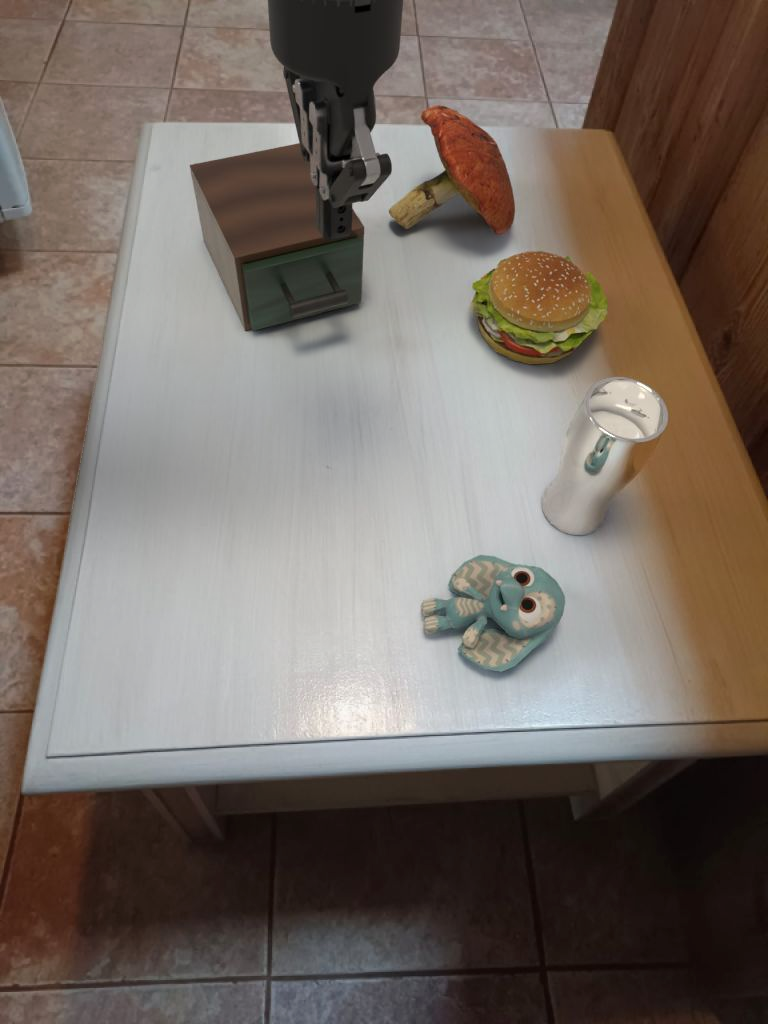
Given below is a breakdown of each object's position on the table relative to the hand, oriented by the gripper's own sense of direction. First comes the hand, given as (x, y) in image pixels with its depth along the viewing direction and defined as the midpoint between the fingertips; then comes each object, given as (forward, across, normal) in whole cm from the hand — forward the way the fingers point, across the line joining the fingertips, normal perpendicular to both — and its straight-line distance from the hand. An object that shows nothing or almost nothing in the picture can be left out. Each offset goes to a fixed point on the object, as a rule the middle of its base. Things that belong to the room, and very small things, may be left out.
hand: (334, 233), depth 53 cm
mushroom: (+17, -26, +25) cm, 40 cm away
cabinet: (+23, -24, +3) cm, 33 cm away
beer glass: (+23, +18, +18) cm, 34 cm away
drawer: (+22, -20, +3) cm, 30 cm away
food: (+23, -4, +26) cm, 35 cm away
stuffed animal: (+23, +25, +5) cm, 34 cm away
